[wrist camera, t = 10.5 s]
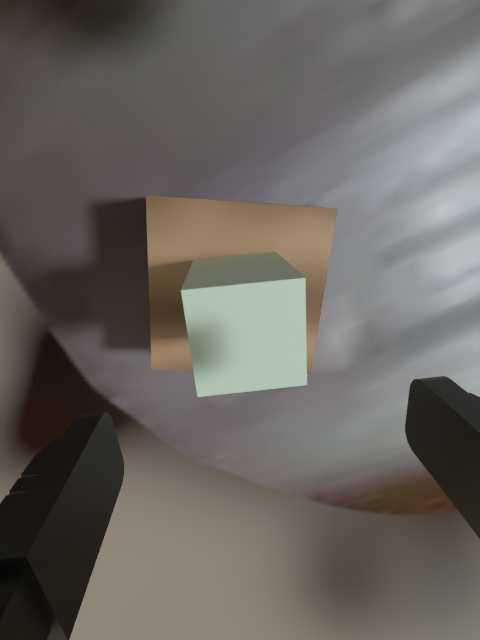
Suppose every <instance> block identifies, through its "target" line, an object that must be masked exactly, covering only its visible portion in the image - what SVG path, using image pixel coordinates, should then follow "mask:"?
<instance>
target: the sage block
mask: <svg viewBox="0 0 480 640" xmlns="http://www.w3.org/2000/svg"><path fill="white" fill-rule="evenodd" d="M181 295H182V301H183V307H184V314H185V320H186V326H187V333H188V339H189V345H190V352H191V358H192V365H193V371H194V377H195V384H196V390H197V396H198V397H203V396H212V395H221V394H230V393H239V392H248V391H257V390H266V389H275V388H284V387H293V386H302V385H307V348H306V281H305V277H304V276H303V275H302V274H301V273H300V272H298V271H297V270H296V269H295V268H294V267H293V266H292V265H291V264H289V263H288V262H287V261H286V260H285V259H284V258H283V257H281V256H280V255H279V254H278V253H277V252H267V253H257V254H247V255H236V256H226V257H216V258H206V259H196V260H193V262H192V264H191V267H190V269H189V272H188V274H187V277H186V279H185V281H184V284H183V286H182V289H181Z"/></svg>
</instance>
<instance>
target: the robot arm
mask: <svg viewBox="0 0 480 640" xmlns="http://www.w3.org/2000/svg"><path fill="white" fill-rule="evenodd" d="M405 432H406V437H407V440H408V443H409V445H410V447H411V449H412V451H413V452H414V454H415V455H416V456H417V457H418V459H419V460H420V461H421V463H422V464H423V465H424V467H425V468H426V469H427V470H428V472H429V473H430V474H431V476H432V477H433V478H434V480H435V481H436V482H437V484H438V485H439V486H440V487H441V489H442V490H443V491H444V493H445V494H446V495H447V497H448V498H449V499H450V500H451V502H452V503H453V504H454V506H455V507H456V508H457V510H458V511H459V512H460V514H461V515H462V516H463V517H464V519H465V520H466V521H467V523H468V524H469V525H470V527H471V528H472V529H473V530H474V532H475V533H476V534H477V536H478V537H479V538H480V397H478V396H476V395H474V394H471V393H467V392H466V391H465V390H464V389H462V388H461V387H460V386H458V385H457V384H456V383H455V382H453V381H452V380H451V379H449V378H448V377H445V376H441V377H432V378H423V379H415V380H413V381H412V383H411V385H410V391H409V399H408V407H407V416H406V424H405ZM123 476H124V461H123V456H122V453H121V449H120V446H119V442H118V439H117V435H116V432H115V428H114V424H113V421H112V418H111V416H110V415H109V414H108V413H101V414H92V415H84V416H77V417H75V418H74V419H73V421H72V422H71V424H70V425H69V427H68V428H67V430H66V431H65V433H64V434H63V436H62V437H61V438H60V439H54V440H53V441H52V442H50V443H49V444H48V445H47V446H46V447H44V448H43V449H42V450H41V451H40V452H39V453H37V454H36V455H35V456H34V457H33V459H32V460H31V462H30V463H29V464H28V466H27V467H26V469H25V470H24V472H23V473H22V474H21V478H19V479H18V480H17V481H16V483H15V484H14V485H13V487H12V488H11V490H10V493H9V495H7V496H6V497H5V498H4V499H3V501H2V502H1V504H0V640H69V639H70V636H71V633H72V630H73V627H74V624H75V621H76V618H77V615H78V612H79V609H80V606H81V603H82V600H83V597H84V594H85V592H86V589H87V585H88V583H89V580H90V577H91V574H92V571H93V568H94V565H95V562H96V559H97V556H98V553H99V550H100V547H101V544H102V541H103V539H104V536H105V533H106V530H107V527H108V524H109V521H110V518H111V515H112V512H113V509H114V506H115V503H116V500H117V497H118V494H119V491H120V488H121V486H122V482H123Z"/></svg>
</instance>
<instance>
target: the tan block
mask: <svg viewBox="0 0 480 640" xmlns="http://www.w3.org/2000/svg"><path fill="white" fill-rule="evenodd" d="M336 216H337V209H334V208H322V207H308V206H294V205H280V204H266V203H252V202H238V201H224V200H210V199H195V198H181V197H167V196H151V195H146V218H147V248H148V278H149V308H150V338H151V368H152V370H190V371H193V365H192V358H191V352H190V345H189V339H188V333H187V326H186V320H185V314H184V307H183V301H182V295H181V289H182V286H183V284H184V281H185V279H186V277H187V274H188V272H189V269H190V267H191V264H192V262H193V260H196V259H206V258H216V257H226V256H236V255H247V254H257V253H267V252H277V253H278V254H279V255H280V256H281V257H283V258H284V259H285V260H286V261H287V262H288V263H289V264H291V265H292V266H293V267H294V268H295V269H296V270H297V271H298V272H300V273H301V274H302V275H303V276H304V277H305V281H306V348H307V374H311V369H312V363H313V357H314V350H315V344H316V338H317V332H318V326H319V320H320V314H321V307H322V301H323V295H324V289H325V283H326V277H327V271H328V265H329V258H330V252H331V246H332V240H333V234H334V228H335V222H336Z"/></svg>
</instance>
